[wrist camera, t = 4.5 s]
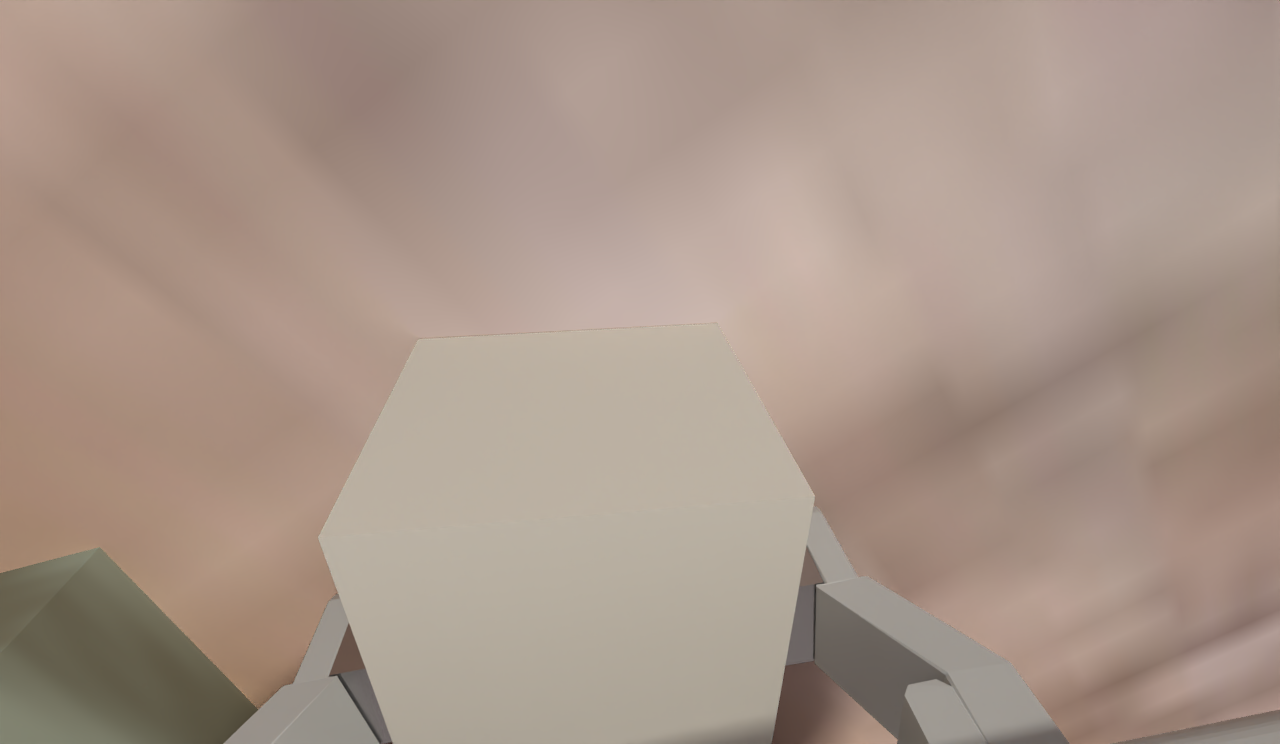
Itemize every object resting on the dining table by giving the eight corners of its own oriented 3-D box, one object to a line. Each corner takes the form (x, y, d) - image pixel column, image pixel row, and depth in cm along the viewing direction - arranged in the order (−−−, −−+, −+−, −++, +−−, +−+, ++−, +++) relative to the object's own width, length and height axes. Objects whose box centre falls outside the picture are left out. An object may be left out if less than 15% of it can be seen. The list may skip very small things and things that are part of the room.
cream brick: (717, 323, 10) (814, 497, 6) (698, 632, 14) (751, 860, 10) (418, 338, 10) (318, 537, 6) (483, 654, 13) (451, 901, 10)
